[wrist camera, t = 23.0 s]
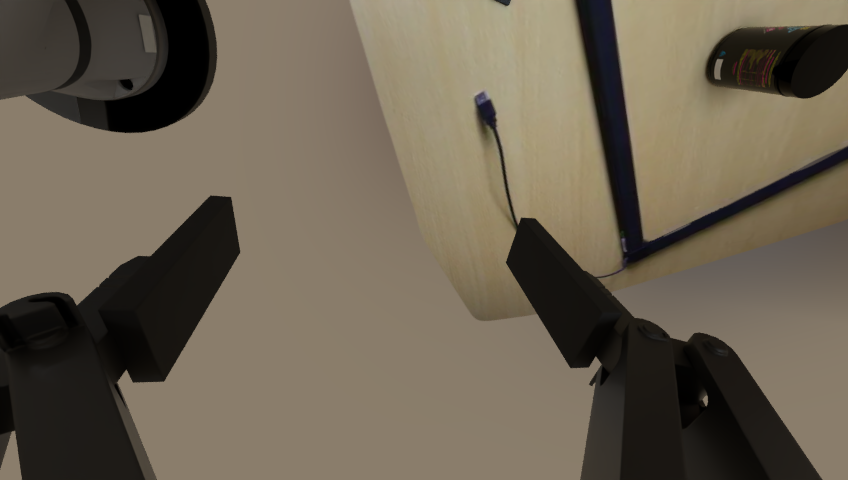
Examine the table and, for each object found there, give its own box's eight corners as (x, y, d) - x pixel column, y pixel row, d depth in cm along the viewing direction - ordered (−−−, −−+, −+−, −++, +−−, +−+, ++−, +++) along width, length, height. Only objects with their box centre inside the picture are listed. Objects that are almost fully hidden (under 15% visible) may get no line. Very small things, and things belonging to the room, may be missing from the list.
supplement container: (754, 69, 43) (852, 77, 35) (704, 96, 44) (787, 110, 36) (758, 15, 40) (868, 8, 31) (703, 46, 41) (795, 48, 32)
